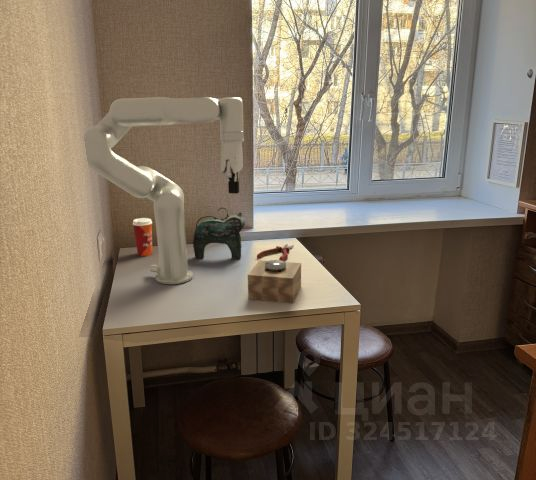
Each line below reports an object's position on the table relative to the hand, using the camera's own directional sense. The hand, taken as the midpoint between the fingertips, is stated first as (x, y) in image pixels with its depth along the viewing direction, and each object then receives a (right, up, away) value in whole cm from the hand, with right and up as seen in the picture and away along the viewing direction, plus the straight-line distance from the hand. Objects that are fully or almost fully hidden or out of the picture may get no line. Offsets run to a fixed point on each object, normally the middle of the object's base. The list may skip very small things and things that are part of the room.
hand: (234, 192), depth 164 cm
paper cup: (-38, -22, +32) cm, 54 cm away
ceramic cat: (-7, -23, +26) cm, 36 cm away
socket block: (+14, -33, -8) cm, 36 cm away
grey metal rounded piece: (+14, -31, -8) cm, 35 cm away
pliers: (+17, -22, +29) cm, 41 cm away
